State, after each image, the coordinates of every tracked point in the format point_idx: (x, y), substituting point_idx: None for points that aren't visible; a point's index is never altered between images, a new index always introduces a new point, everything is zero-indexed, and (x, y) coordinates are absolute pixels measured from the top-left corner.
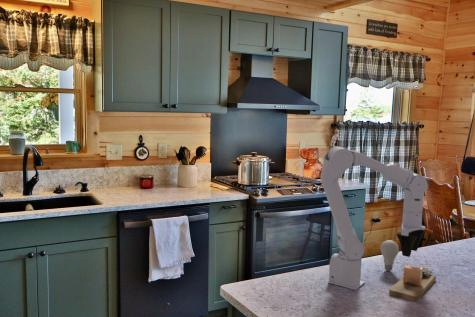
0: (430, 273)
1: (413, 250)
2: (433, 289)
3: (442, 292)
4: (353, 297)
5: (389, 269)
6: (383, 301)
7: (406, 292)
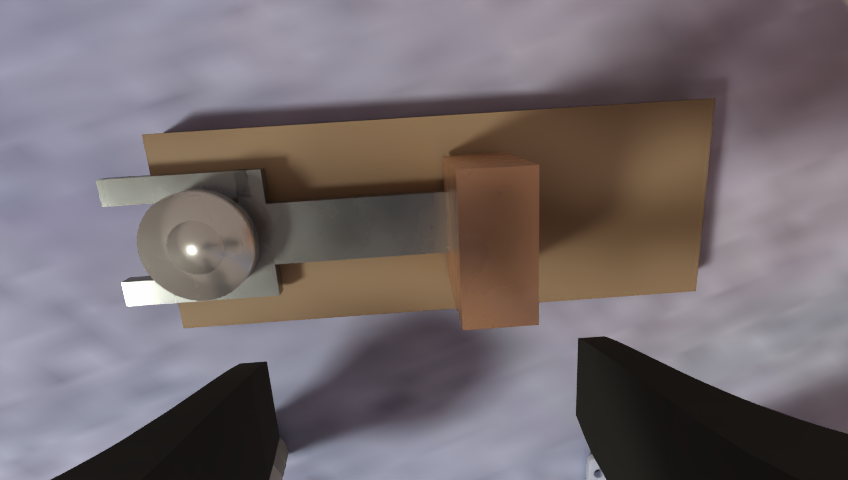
0: (162, 174)
1: (271, 396)
2: (372, 80)
3: (383, 4)
4: (838, 403)
5: (279, 441)
6: (803, 260)
7: (673, 185)
